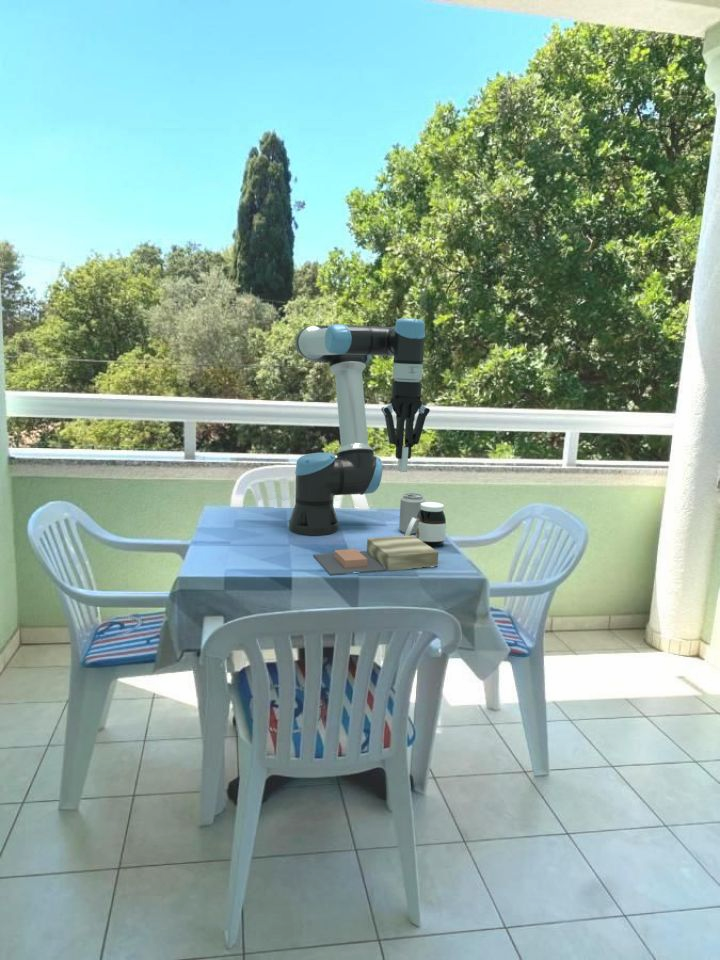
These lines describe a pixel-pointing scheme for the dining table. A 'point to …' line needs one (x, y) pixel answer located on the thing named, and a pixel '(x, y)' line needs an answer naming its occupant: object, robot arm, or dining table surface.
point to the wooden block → (401, 552)
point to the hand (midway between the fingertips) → (402, 470)
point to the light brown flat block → (350, 558)
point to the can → (409, 510)
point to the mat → (336, 568)
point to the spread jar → (429, 524)
